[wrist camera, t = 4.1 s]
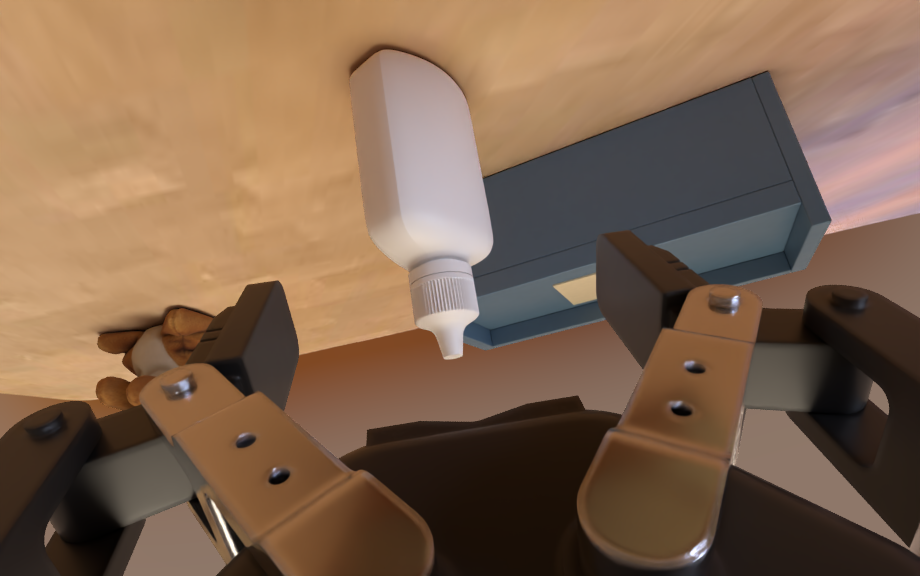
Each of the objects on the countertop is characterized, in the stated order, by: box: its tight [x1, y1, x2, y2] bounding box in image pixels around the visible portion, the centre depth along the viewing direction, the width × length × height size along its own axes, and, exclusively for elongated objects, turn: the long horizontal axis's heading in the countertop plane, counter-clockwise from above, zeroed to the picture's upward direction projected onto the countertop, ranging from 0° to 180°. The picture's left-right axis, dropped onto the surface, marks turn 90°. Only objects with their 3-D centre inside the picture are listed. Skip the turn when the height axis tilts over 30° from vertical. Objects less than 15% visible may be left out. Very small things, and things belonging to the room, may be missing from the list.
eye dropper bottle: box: [349, 49, 493, 359], centre depth 22 cm, size 4×6×12 cm
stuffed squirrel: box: [96, 308, 213, 411], centre depth 48 cm, size 10×14×13 cm
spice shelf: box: [463, 72, 831, 350], centre depth 36 cm, size 20×16×8 cm
